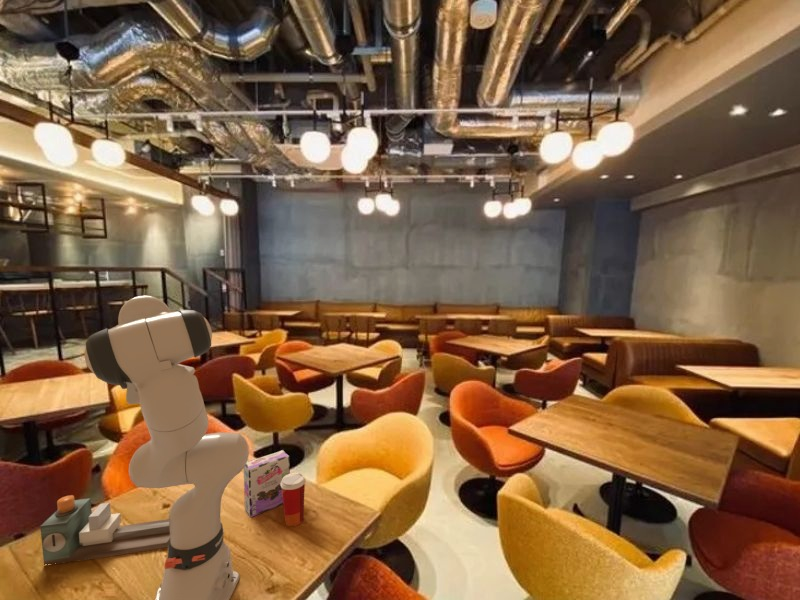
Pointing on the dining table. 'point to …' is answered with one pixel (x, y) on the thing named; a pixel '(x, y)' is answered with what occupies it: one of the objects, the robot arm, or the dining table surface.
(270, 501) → the candy box
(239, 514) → the dining table surface
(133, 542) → the rail base
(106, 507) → the carriage
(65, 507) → the button
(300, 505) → the paper cup
